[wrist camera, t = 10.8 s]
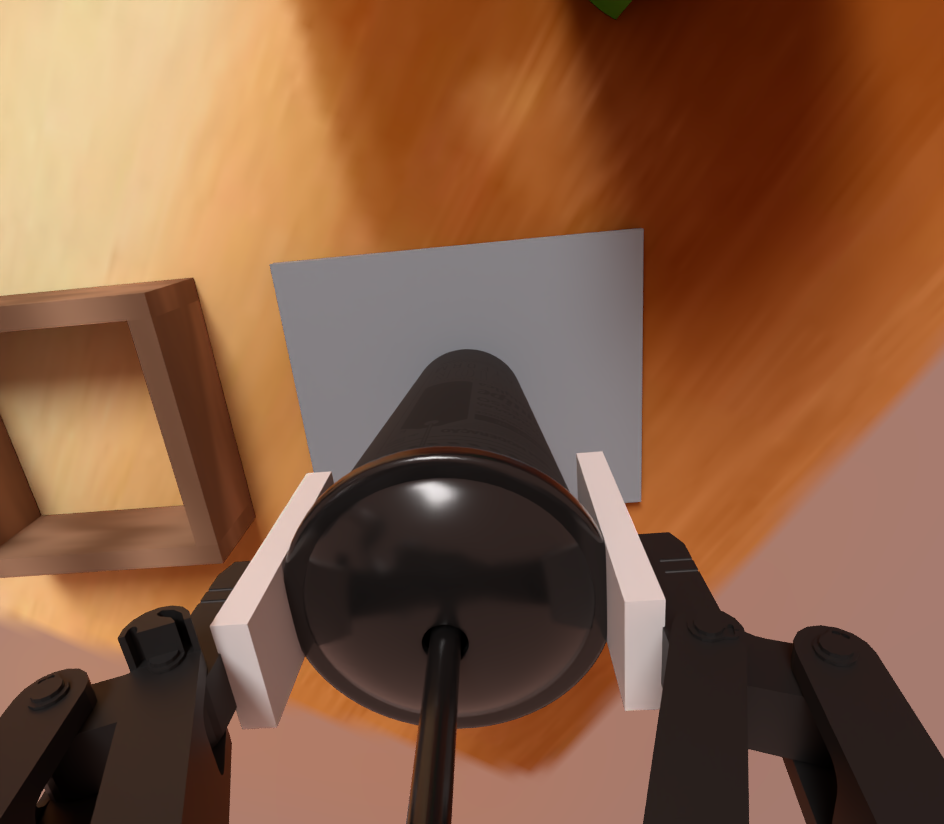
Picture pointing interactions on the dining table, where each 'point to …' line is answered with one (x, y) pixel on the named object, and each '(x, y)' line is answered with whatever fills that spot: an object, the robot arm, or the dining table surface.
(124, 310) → the walnut collar
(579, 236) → the slate mat
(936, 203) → the dining table surface
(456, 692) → the drinking cup
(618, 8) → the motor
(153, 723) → the robot arm
